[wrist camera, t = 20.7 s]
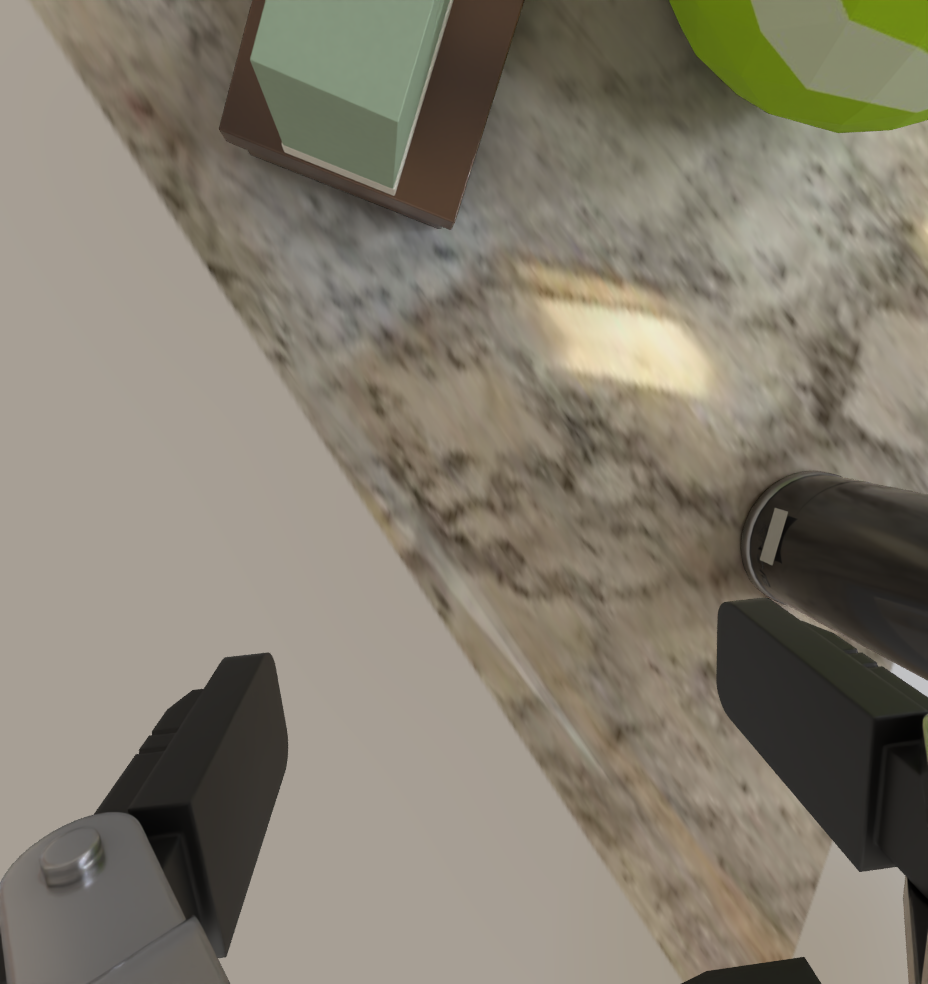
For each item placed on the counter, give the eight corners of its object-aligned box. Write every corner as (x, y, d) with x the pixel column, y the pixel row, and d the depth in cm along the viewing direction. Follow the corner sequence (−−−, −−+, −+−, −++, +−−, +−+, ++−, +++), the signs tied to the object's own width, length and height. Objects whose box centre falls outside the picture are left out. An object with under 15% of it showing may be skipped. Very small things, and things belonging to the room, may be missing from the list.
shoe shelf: (321, -156, 30) (312, -237, 26) (536, -48, 33) (558, -108, 29) (237, 160, 32) (218, 128, 28) (446, 241, 34) (454, 223, 31)
